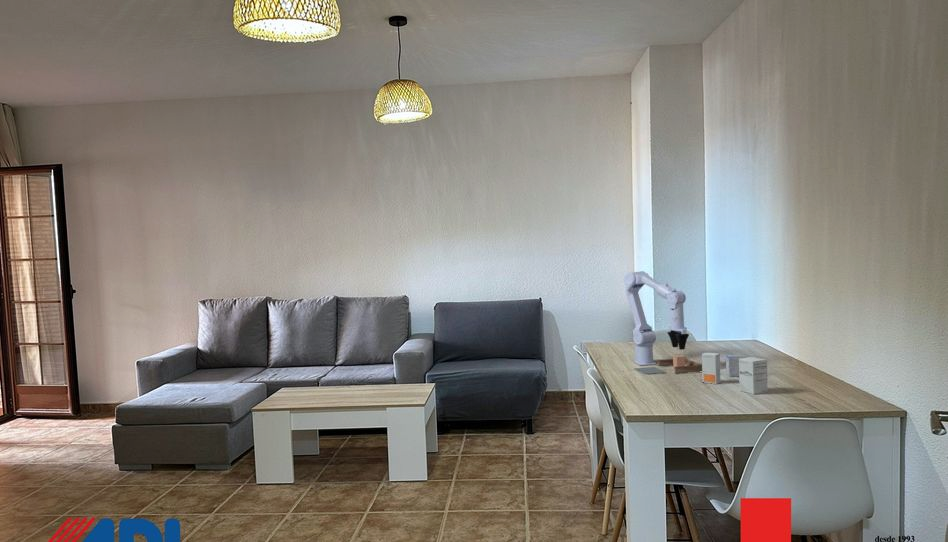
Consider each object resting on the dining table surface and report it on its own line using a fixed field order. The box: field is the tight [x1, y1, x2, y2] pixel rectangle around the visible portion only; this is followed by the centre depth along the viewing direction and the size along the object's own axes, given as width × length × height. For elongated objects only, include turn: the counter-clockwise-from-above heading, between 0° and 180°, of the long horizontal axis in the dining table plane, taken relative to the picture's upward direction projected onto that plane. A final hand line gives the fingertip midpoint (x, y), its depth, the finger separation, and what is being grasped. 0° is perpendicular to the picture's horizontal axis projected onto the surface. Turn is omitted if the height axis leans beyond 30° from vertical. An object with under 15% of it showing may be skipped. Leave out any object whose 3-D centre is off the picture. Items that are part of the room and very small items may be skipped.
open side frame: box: [657, 357, 702, 374], centre depth 315 cm, size 19×13×3 cm
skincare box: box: [701, 352, 721, 385], centre depth 284 cm, size 6×4×12 cm
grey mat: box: [633, 366, 666, 375], centre depth 313 cm, size 13×10×1 cm
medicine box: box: [725, 354, 749, 378], centre depth 295 cm, size 8×4×9 cm, turn 84°
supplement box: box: [738, 356, 769, 395], centre depth 265 cm, size 7×7×13 cm
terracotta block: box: [672, 354, 686, 368], centre depth 315 cm, size 4×4×6 cm
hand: (678, 348), depth 314 cm, fingers open, 7 cm apart
